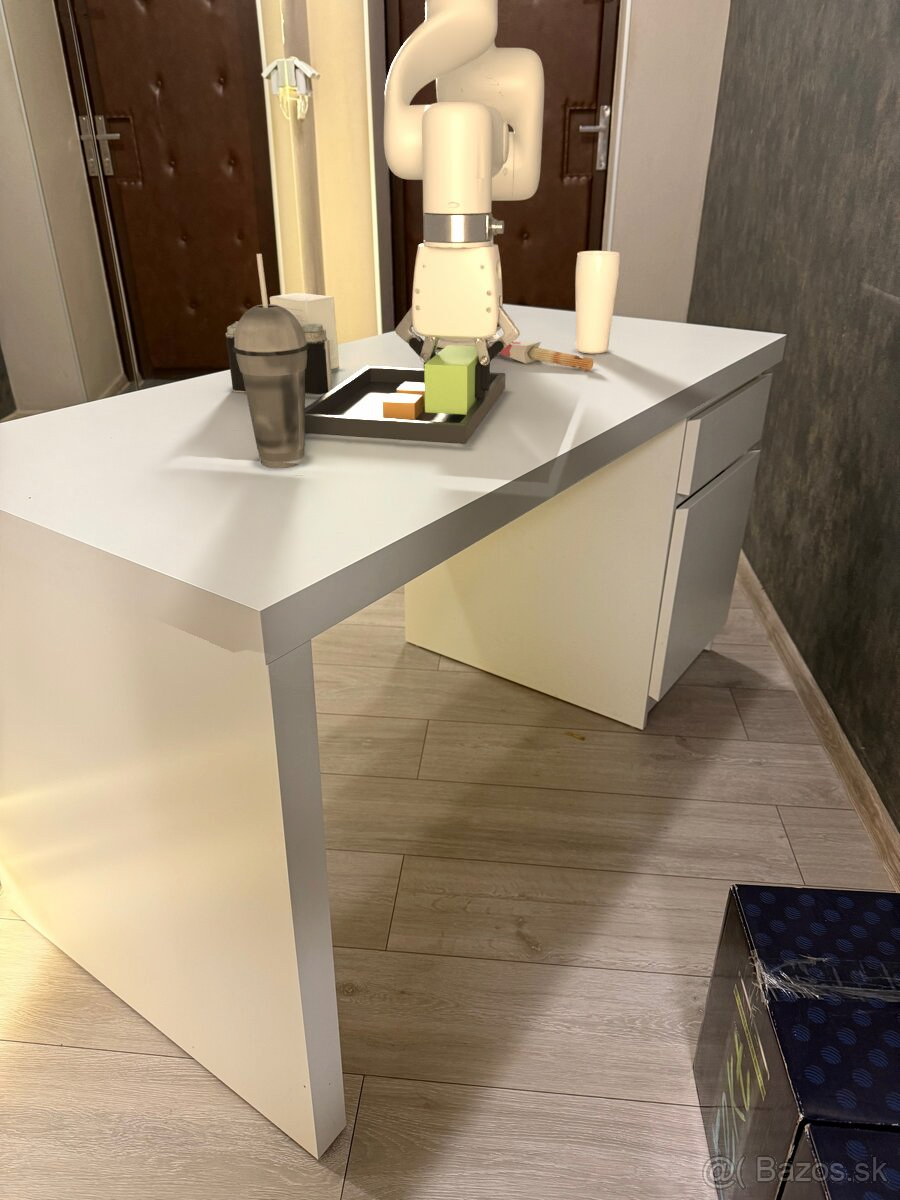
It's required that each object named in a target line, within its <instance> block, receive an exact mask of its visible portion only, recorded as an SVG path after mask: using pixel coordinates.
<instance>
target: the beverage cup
mask: <svg viewBox="0 0 900 1200" xmlns="http://www.w3.org/2000/svg"><path fill="white" fill-rule="evenodd" d="M256 262H257V270H258V271H257V272H258V278H259V287H260V295H261V302H262V304H257V305H255V306H253V307H251V308H250V309H248V310H247V311H246V312H244V313H243V314H242V316H241V317H240V319H239V320H238V321H239V322H238V325H237V327H236V331H235V337H234V342H235V345H234V349H233V350H234V352H235V353H236V357H237V362H238V365H239V368H240V371H241V372H242V375H243V380H244V385H245V390H246V392H245V394H246V399H247V404H248V410H249V415H250V420H251V425H252V429H253V434H254V440H255V444H256V445H255V446H256V449H257V452H258V455H259V459H260V464H261V465H262V466H264V467H267V468H274V469H283V468H284V469H285V468H292V467H295V466H299V465H300V463H294V462H296V461H298V460H301V459H303V457H304V456H305V446H306V433H305V408H306V393H305V369H306V364H307V349H308V344H307V342H306V337H305V334H304V331H303V329H302V326H301V324H300V323H299V321H298V320H297V318H296V317H295V316H294V315H293V314H292V313H291V312H290V311H288V310H287V309H285V308H284V307H281V306H279V305H274V304H270V303H269V301H268V294H267V284H266V276H265V268H264V260H263V254H262V253H256ZM291 462H293V463H291Z"/></svg>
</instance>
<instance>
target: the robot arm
mask: <svg viewBox="0 0 900 1200" xmlns="http://www.w3.org/2000/svg"><path fill="white" fill-rule="evenodd" d="M498 3H499V1H498V0H425V3H424V5H425V7H424V10H425V11H424V12H425V16H424V17H425V20H424V21H423V22H422V23H420V24H419V25H418V27H417V28H416V29H414V31H413V32H412V33H411V34H410V35H409V37H408V38H407V39H406V40H405V41H404V42H403V45H402V46H401V47H400V49H399V50H398V52H397V53H396V56H395V57H394V59H393V61H392V63H391V65H390V68H389V71H388V74H387V78H386V81H385V82H386V83H385V90H384V108H383V109H384V111H383V112H384V113H383V149H384V150H383V151H384V156H385V160H386V164H387V166H388V168H389V169H390V171H391V173H393V174H394V176H397V177H398V178H399V179H403V180H408V181H409V180H410V181H411V180H413V181H417V180H418V181H422V213H423V214H422V215H423V217H422V219H423V220H422V221H423V225H422V226H423V229H422V231H423V243H420V244H418V245H417V250H416V256H415V263H414V270H413V282H412V296H411V297H412V298H411V299H412V302H411V307H410V308H409V310H408V311H407V312H406V313H405V315H404V316H403V318H402V319H401V320H400V322H399V323H398V324H397V326H396V328H395V329H394V332H395V334H396V336H398V337H400V338H401V339H402V340H403V341H404V342H405V343H407V344H408V345H409V348H411V349H412V351H413V352H415V354H416V355H417V356H418V357H419V360H420V361H421V362H422V363H423V365H424V364H426V363H427V362H428V361H429V360H430V359H432V358H433V357H434V356H435V355H436V354H437V350H438V349H439V348H440V349H444V348H445V347H446V346H447V345H457V346H476V350H477V354H478V357H479V359H478V364H477V365H476V366H475V398H476V399H481V398H482V397H483V395H484V394H485V391H488V390H489V387H490V372H491V362H492V361H493V360H494V359H495V358H496V357H497V356H498V355H499V354H501V353H500V352H501V351H502V350H503V349H504V348H505V347H507V346H508V345H509V344H510V343H512V342H515V341H516V340H517V339H518V338H519V337H520V334H521V332H520V330H519V329H518V327H517V325H516V324H515V323H514V322H513V319H511V317H510V316H509V314H508V313H507V312H506V310H505V309H504V308H503V307H504V306H503V277H502V265H501V256H500V250H499V244H495V243H494V237H495V236H497V235H498V234H499V235H503V234H504V232H505V221H504V220H498V219H497V218H495V217H493V213H492V204H493V203H492V202H493V201H494V202H495V201H499V202H500V201H506V202H507V201H508V202H509V201H510V202H511V201H524V200H528V199H530V198H532V197H534V195H535V194H536V192H537V190H538V188H539V183H540V179H541V178H540V177H541V167H542V165H541V164H542V149H543V127H544V109H545V107H544V106H545V74H544V66H543V63H542V60H541V58H540V56H539V54H538V53H537V52H536V51H534V50H533V49H531V48H525V47H497V46H496V43H495V39H496V37H497V33H498V27H499V26H498V25H499V21H498V19H499V18H498V16H499V15H498V13H499V12H498V10H499V9H498ZM434 80H435V89H436V102H435V103H431V104H411V102H412V100H413V99H414V97H415V96H416V94H417V93H418V92H419V91H420V90H421V89H423V88H424V87H425V86H426V85H428V84H429V83H431V82H433V81H434ZM410 104H411V105H410ZM509 126H510V127H511V128H512V130H513V131H510V129H509ZM500 330H502V331H503V335H502V336H500V335H499V334H498V333H497V332H498V331H500ZM422 337H424V338H423V339H422ZM490 342H495V343H494V344H493V345H492V346H491V344H490ZM424 387H425V382H424Z"/></svg>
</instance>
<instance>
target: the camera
mask: <svg viewBox="0 0 900 1200" xmlns="http://www.w3.org/2000/svg"><path fill="white" fill-rule="evenodd" d="M238 322H239V320H237V321H234V323H231V325H228V326H227V327H226V331H227V332H225V338H226V340H225V341H226V347H227V354H228V364H229V371H230V379H231V386H232V391H233V392H237V393H246V390H245V385H244V380H243V375H242V372H241V371H240V368H239V365H238V362H237V357H236V353H235V352H234V350H233V349H234V345H235V342H234V337H235V331H236V327H237V325H238ZM302 329H303V331H304V334H305V337H306V342H307V344H308V349H307V364H306V369H305V394H309V395H324V394H326V393H328V392H329V391H331V390H332V389H333V378H332V377H333V376H332V369H331V361H330V347H329V340H327V338H326V329H323V325H321V324H306V325H303V326H302Z"/></svg>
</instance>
